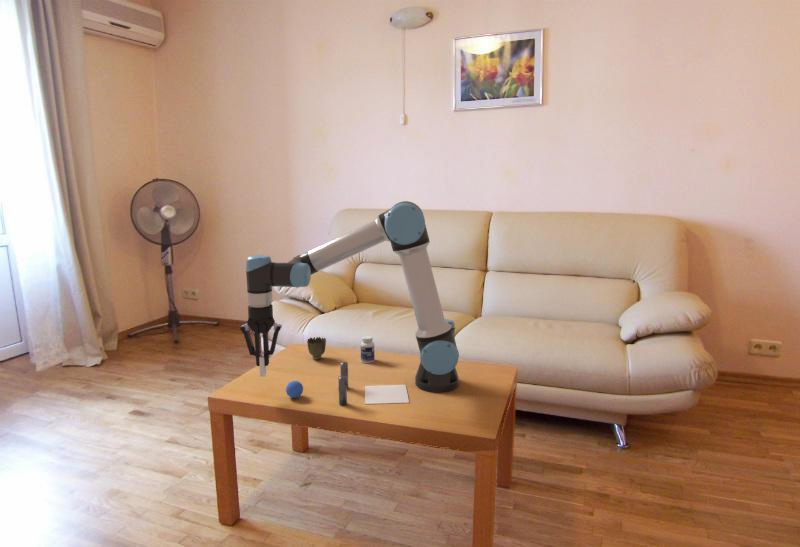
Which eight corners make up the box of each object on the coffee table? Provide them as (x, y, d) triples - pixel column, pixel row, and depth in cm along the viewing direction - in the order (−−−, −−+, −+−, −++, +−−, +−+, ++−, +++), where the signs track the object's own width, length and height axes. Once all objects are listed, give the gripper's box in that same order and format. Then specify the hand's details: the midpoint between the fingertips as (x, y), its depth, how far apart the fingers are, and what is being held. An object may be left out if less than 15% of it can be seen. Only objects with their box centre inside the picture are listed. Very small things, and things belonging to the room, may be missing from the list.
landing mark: (405, 385, 176) (405, 384, 176) (409, 402, 163) (409, 402, 163) (365, 386, 175) (365, 385, 175) (365, 404, 162) (365, 403, 162)
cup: (324, 362, 198) (324, 342, 197) (306, 362, 198) (305, 342, 197) (327, 355, 206) (327, 336, 204) (309, 355, 206) (309, 336, 204)
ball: (304, 393, 170) (303, 377, 169) (302, 400, 164) (301, 384, 163) (287, 393, 170) (286, 378, 168) (285, 401, 164) (284, 385, 163)
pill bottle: (359, 362, 197) (358, 338, 196) (363, 358, 203) (362, 334, 201) (372, 364, 196) (372, 339, 194) (376, 359, 201) (375, 335, 200)
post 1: (348, 386, 175) (347, 361, 174) (348, 389, 173) (347, 364, 171) (341, 386, 175) (340, 361, 174) (340, 389, 173) (340, 364, 171)
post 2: (347, 402, 163) (346, 375, 162) (346, 405, 161) (346, 378, 159) (339, 402, 163) (338, 375, 161) (338, 405, 161) (338, 378, 159)
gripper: (283, 301, 165) (285, 370, 169) (242, 301, 164) (245, 370, 168) (279, 307, 157) (281, 379, 162) (236, 307, 156) (239, 379, 161)
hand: (263, 374), depth 165 cm, fingers closed
